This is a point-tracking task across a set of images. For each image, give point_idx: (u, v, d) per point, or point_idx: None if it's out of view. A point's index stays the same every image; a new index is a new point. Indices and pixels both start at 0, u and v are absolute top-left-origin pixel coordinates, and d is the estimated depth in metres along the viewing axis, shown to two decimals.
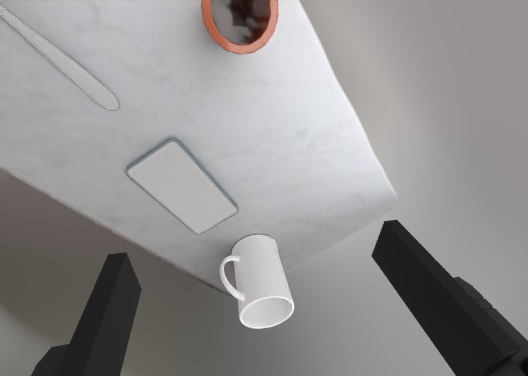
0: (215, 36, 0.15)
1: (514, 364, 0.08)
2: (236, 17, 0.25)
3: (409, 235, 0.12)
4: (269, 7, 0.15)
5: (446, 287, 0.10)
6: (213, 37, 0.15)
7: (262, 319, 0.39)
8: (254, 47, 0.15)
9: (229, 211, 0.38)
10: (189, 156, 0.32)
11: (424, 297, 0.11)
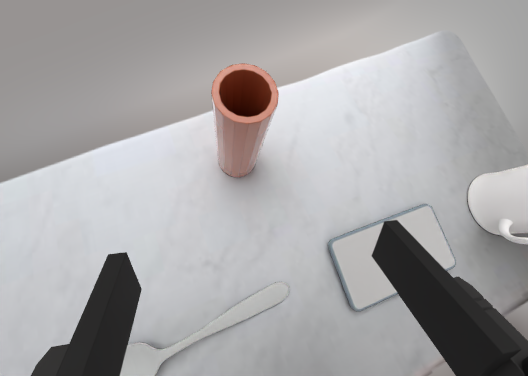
0: (259, 118, 0.16)
1: (514, 364, 0.08)
2: None
3: (409, 235, 0.12)
4: (248, 71, 0.17)
5: (446, 287, 0.10)
6: (259, 120, 0.16)
7: None
8: (274, 90, 0.17)
9: (428, 214, 0.31)
10: (351, 234, 0.29)
11: (425, 298, 0.11)
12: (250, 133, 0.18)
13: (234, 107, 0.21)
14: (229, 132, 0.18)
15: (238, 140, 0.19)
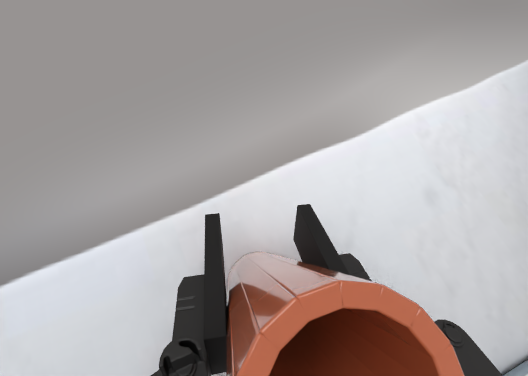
0: None
1: None
2: None
3: (314, 217, 0.13)
4: (354, 307, 0.05)
5: (327, 260, 0.11)
6: None
7: None
8: None
9: None
10: None
11: None
12: None
13: None
14: None
15: None
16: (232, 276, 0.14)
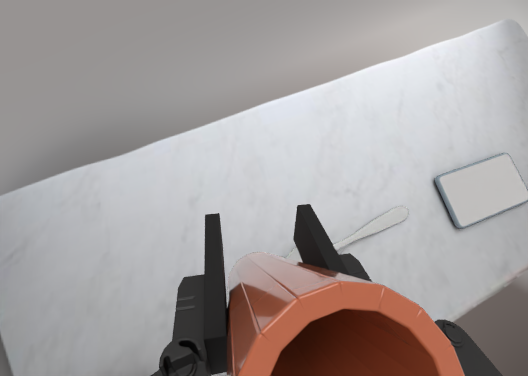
0: None
1: None
2: None
3: (314, 217, 0.13)
4: (355, 308, 0.05)
5: (327, 260, 0.11)
6: None
7: None
8: None
9: (507, 160, 0.40)
10: (452, 172, 0.38)
11: None
12: None
13: None
14: None
15: None
16: (232, 276, 0.14)
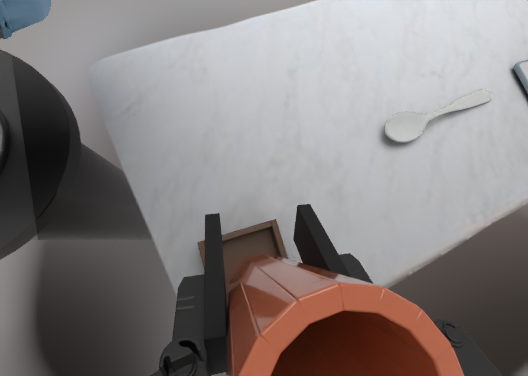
0: None
1: None
2: None
3: (314, 217, 0.13)
4: (355, 309, 0.05)
5: (327, 260, 0.11)
6: None
7: None
8: None
9: None
10: None
11: None
12: None
13: None
14: None
15: None
16: (232, 277, 0.14)
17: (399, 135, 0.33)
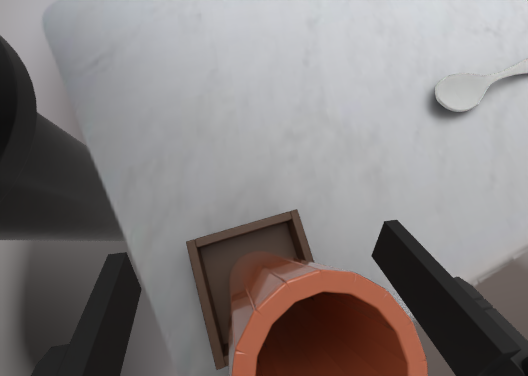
0: None
1: (514, 364, 0.08)
2: None
3: (409, 235, 0.12)
4: None
5: (446, 287, 0.10)
6: None
7: None
8: (416, 353, 0.06)
9: None
10: None
11: (424, 297, 0.11)
12: None
13: None
14: None
15: None
16: (233, 273, 0.15)
17: (452, 103, 0.25)
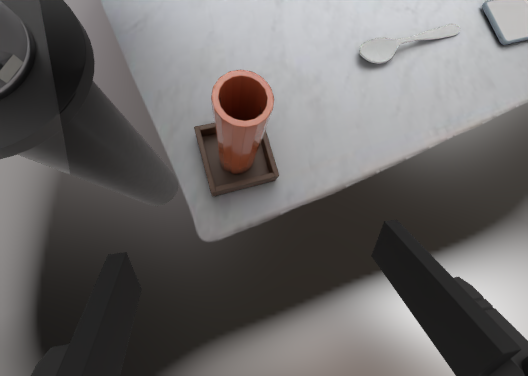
0: (256, 122, 0.17)
1: (514, 364, 0.08)
2: None
3: (409, 235, 0.12)
4: (245, 77, 0.18)
5: (446, 287, 0.10)
6: (256, 124, 0.17)
7: None
8: (270, 95, 0.18)
9: None
10: None
11: (424, 297, 0.11)
12: (247, 135, 0.19)
13: (233, 109, 0.22)
14: (228, 134, 0.19)
15: (236, 141, 0.20)
16: None
17: (373, 58, 0.37)
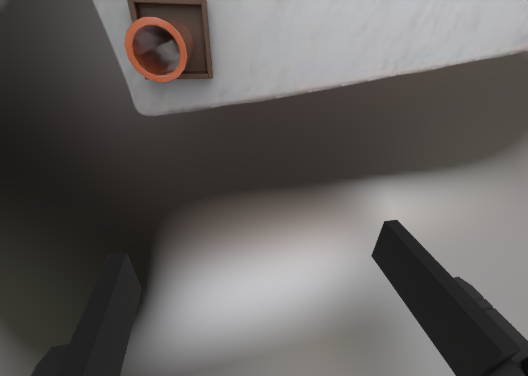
0: (167, 79, 0.20)
1: (514, 364, 0.08)
2: None
3: (409, 235, 0.12)
4: (161, 27, 0.18)
5: (446, 287, 0.10)
6: (167, 80, 0.20)
7: None
8: (183, 54, 0.20)
9: None
10: None
11: (424, 297, 0.11)
12: None
13: None
14: None
15: None
16: None
17: None
